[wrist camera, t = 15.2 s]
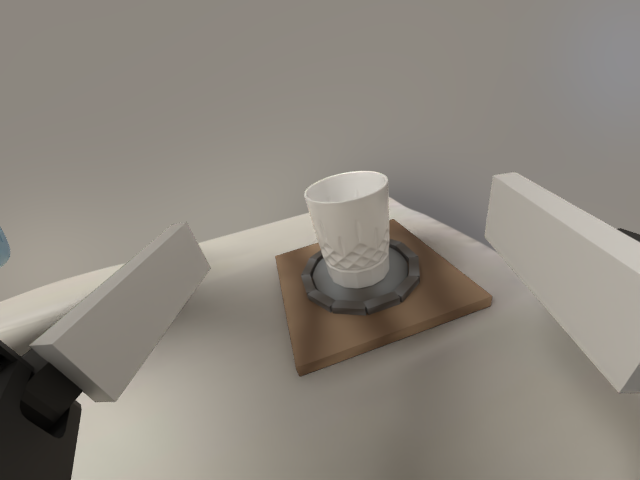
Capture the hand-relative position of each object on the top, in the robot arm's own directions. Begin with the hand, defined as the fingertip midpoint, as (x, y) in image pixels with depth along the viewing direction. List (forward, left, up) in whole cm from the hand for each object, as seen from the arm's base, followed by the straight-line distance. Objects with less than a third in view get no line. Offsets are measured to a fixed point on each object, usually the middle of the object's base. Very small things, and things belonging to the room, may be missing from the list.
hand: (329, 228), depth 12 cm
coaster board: (-2, +13, -14) cm, 20 cm away
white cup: (-2, +13, -13) cm, 19 cm away
